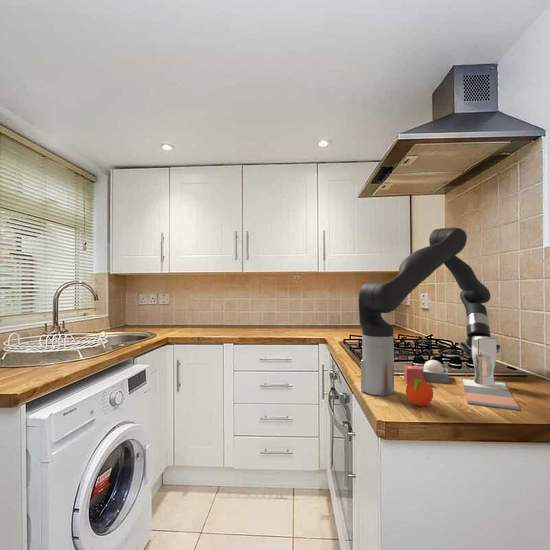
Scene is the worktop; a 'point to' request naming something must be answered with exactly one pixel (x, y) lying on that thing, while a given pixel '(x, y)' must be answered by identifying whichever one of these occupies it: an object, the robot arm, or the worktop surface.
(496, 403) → the game board
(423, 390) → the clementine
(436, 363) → the dome cap
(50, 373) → the worktop surface
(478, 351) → the beer glass
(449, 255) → the robot arm
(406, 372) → the die
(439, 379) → the dome base
